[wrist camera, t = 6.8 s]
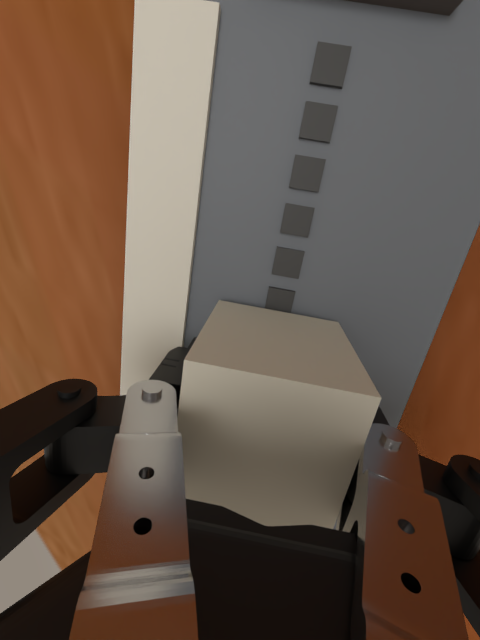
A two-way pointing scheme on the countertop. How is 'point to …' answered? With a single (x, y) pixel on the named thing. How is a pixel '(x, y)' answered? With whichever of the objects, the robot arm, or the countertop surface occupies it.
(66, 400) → the robot arm
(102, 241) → the countertop surface
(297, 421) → the tab
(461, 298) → the countertop surface
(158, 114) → the board
